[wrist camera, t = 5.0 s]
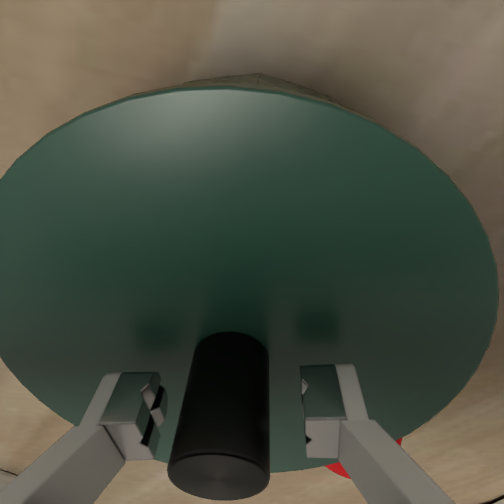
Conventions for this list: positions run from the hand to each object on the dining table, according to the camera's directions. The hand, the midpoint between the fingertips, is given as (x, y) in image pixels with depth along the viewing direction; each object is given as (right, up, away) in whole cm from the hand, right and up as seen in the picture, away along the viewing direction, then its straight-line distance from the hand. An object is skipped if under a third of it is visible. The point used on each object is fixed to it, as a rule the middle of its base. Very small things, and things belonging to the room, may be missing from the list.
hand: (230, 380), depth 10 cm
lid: (0, +1, +1) cm, 2 cm away
